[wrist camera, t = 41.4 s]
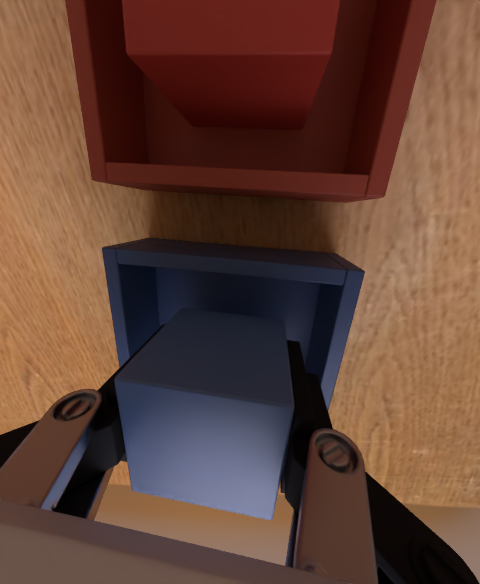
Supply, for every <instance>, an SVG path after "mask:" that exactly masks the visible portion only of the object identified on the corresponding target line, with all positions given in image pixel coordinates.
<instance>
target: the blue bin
mask: <svg viewBox="0 0 480 584" xmlns="http://www.w3.org/2000/svg"><path fill="white" fill-rule="evenodd" d="M102 252H103V259H104V265H105V272H106V279H107V286H108V292H109V299H110V306H111V313H112V320H113V326H114V333H115V340H116V347H117V353H118V360H119V367H121V366H122V365H123V364H124V363H125V362H126V361H127V360H128V359H129V358H130V357H131V356H132V355H133V354H134V353H135V352H136V351H137V350H138V349H139V348H140V347H141V346H142V345H143V344H144V343H145V342H146V341H147V340H148V339H149V338H150V337H151V336H152V335H153V334H154V333H155V332H156V331H157V330H158V329H159V328H160V327H161V326H162V325H163V324H167V322H168V321H169V320H170V319H171V318H172V317H173V316H174V315H175V314H176V313H177V312H178V311H179V310H180V309H181V308H187V309H196V310H204V311H213V312H221V313H230V314H238V315H247V316H255V317H264V318H272V319H281V320H284V321H285V329H286V337H287V340H292V341H299V342H300V346H301V351H302V355H303V360H304V365H305V370H306V373H312V374H317V375H318V378H319V382H320V385H321V389H322V392H323V396H324V399H325V403H326V407H327V410H329V406H330V402H331V398H332V395H333V391H334V387H335V383H336V379H337V376H338V372H339V368H340V364H341V361H342V357H343V353H344V349H345V345H346V342H347V338H348V334H349V330H350V326H351V323H352V319H353V315H354V311H355V308H356V304H357V300H358V296H359V292H360V289H361V285H362V281H363V277H364V273H365V271H364V270H362V269H360V268H359V267H357V266H356V265H354V264H352V263H351V262H349V261H347V260H346V259H344V258H343V257H341V256H339V255H338V254H335V253H324V252H312V251H300V250H288V249H276V248H264V247H252V246H240V245H228V244H216V243H204V242H192V241H180V240H168V239H156V238H145V239H141V240H136V241H131V242H126V243H121V244H116V245H112V246H107V247H103V248H102Z"/></svg>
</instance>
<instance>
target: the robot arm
mask: <svg viewBox="0 0 480 584" xmlns="http://www.w3.org/2000/svg"><path fill="white" fill-rule="evenodd" d="M165 325H166V324H163V325H162V326H161V327H160V328H159V329H158V330H157V331H156V332H155V333H154V334H153V335H152V336H151V337H150V338H149V339H148V340H147V341H146V342H145V343H144V344H143V345H142V346H141V347H140V348H139V349H138V350H137V351H136V352H135V353H134V354H133V355H132V356H131V357H130V358H129V359H128V360H127V361H126V362H125V363H124V364H123V365H122V366H121V367H120V368H119V369H118V370H117V371H116V372H115V373H114V374H113V375H112V376H111V377H110V378H109V379H108V380H107V381H106V382H105V383H104V384H103V386H102V387H101V388H100V389H99V390H98V391H97V390H94V389H81V390H77V391H74V392H71V393H69V394H67V395H65V396H63V397H62V398H60V399H59V400H57V401H56V402H55V403H54V404H53V405H52V406H51V407H50V408H49V410H48V411H47V412H46V413H45V414H44V416H43V417H42V418H41V419H40V420H39V421H36V422H34V423H31V424H28V425H26V426H23V427H20V428H18V429H15V430H12V431H10V432H7V433H4V434H2V435H0V584H479V582H478V580H477V579H476V577H475V575H474V574H473V572H472V571H471V570H470V568H469V567H468V566H467V564H466V563H465V562H464V561H463V559H462V558H461V557H460V556H459V555H458V554H457V553H456V552H455V551H454V550H453V549H452V548H451V547H450V546H449V545H447V543H445V542H444V541H443V540H442V539H441V538H440V537H439V536H438V535H436V534H435V533H434V532H433V531H432V530H431V529H430V528H428V527H427V526H426V525H425V524H424V523H423V522H422V521H421V520H419V519H418V518H417V517H416V516H415V515H414V514H413V513H412V512H410V511H409V510H408V509H407V508H406V507H405V506H404V505H403V504H401V503H400V502H399V501H398V500H397V499H396V498H395V497H394V496H392V495H391V494H390V493H389V492H388V491H387V490H386V489H385V488H383V487H382V486H381V485H380V484H379V483H378V482H377V481H376V480H374V479H373V478H372V477H371V476H370V475H369V474H368V473H367V472H365V465H364V460H363V457H362V454H361V452H360V450H359V448H358V447H357V445H356V444H355V443H354V442H353V441H352V440H351V439H350V438H349V437H347V436H346V435H345V434H343V433H341V432H339V431H337V430H334V429H333V428H332V424H331V421H330V417H329V414H328V410H327V407H326V403H325V399H324V396H323V392H322V389H321V385H320V382H319V378H318V375H317V374H312V373H306V370H305V365H304V360H303V355H302V351H301V346H300V342H299V341H292V340H287V346H288V355H289V363H290V372H291V380H292V389H293V398H294V406H295V407H294V412H293V417H292V423H291V428H290V433H289V438H288V443H287V448H286V454H285V459H284V464H283V469H282V474H281V479H280V484H281V493H285V498H286V499H287V501H288V502H289V503H290V505H291V506H292V507H293V515H292V522H291V529H290V536H289V543H288V550H287V557H286V563H285V566H283V565H278V564H275V563H270V562H266V561H262V560H258V559H254V558H250V557H245V556H241V555H237V554H233V553H229V552H225V551H221V550H216V549H212V548H208V547H204V546H200V545H196V544H191V543H187V542H182V541H178V540H174V539H170V538H166V537H161V536H157V535H153V534H149V533H144V532H140V531H136V530H132V529H127V528H123V527H118V526H114V525H110V524H106V523H101V522H97V521H94V518H95V516H96V513H97V510H98V508H99V505H100V503H101V500H102V498H103V495H104V492H105V490H106V487H107V485H108V482H109V479H110V477H111V474H112V471H113V468H114V466H115V465H117V464H118V463H119V462H120V461H125V462H127V456H126V450H125V444H124V438H123V432H122V425H121V419H120V413H119V407H118V400H117V394H116V388H115V382H114V379H115V377H116V376H117V375H118V374H119V373H120V372H121V370H122V369H123V368H124V367H125V366H126V365H127V364H128V363H129V362H130V361H131V360H132V359H133V358H134V357H135V356H136V355H137V354H138V353H139V352H140V351H141V350H142V349H143V348H144V346H145V345H146V344H147V343H148V342H149V341H150V340H151V339H152V338H153V337H154V336H155V335H156V334H157V333H158V332H159V331H160V330H161V329H162V328H163V327H164V326H165Z"/></svg>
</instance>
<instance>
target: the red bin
mask: <svg viewBox="0 0 480 584" xmlns="http://www.w3.org/2000/svg"><path fill="white" fill-rule="evenodd" d="M65 1H66V8H67V15H68V22H69V29H70V35H71V42H72V49H73V56H74V62H75V69H76V76H77V83H78V89H79V96H80V103H81V110H82V117H83V123H84V130H85V137H86V144H87V150H88V157H89V164H90V171H91V177H92V180H94V181H98V182H103V183H109V184H114V185H120V186H125V187H131V188H136V189H142V190H151V191H168V192H184V193H200V194H217V195H233V196H249V197H266V198H282V199H298V200H314V201H331V202H354V201H361V200H368V199H376V198H382V197H384V196H385V193H386V190H387V186H388V182H389V178H390V174H391V171H392V167H393V163H394V159H395V155H396V152H397V148H398V144H399V140H400V137H401V133H402V129H403V125H404V121H405V118H406V114H407V110H408V106H409V102H410V99H411V95H412V91H413V87H414V84H415V80H416V76H417V72H418V68H419V65H420V61H421V57H422V53H423V49H424V46H425V42H426V38H427V34H428V30H429V27H430V23H431V19H432V15H433V12H434V8H435V4H436V0H340V4H339V11H338V17H337V23H336V30H335V36H334V42H333V49H332V53H331V56H330V58H329V61H328V64H327V66H326V69H325V72H324V74H323V77H322V79H321V82H320V85H319V87H318V90H317V93H316V95H315V98H314V100H313V103H312V106H311V108H310V111H309V113H308V116H307V119H306V121H305V124H304V127H303V129H302V130H295V129H263V128H230V127H198V126H191V124H190V123H189V122H188V121H187V120H186V119H185V118H184V117H183V116H182V115H181V113H180V112H179V111H178V110H177V109H176V108H175V107H174V106H173V105H172V103H171V102H170V101H169V100H168V99H167V98H166V97H165V96H164V95H163V93H162V92H161V91H160V90H159V89H158V88H157V87H156V86H155V85H154V84H153V82H152V81H151V80H150V79H149V78H148V77H147V76H146V75H145V74H144V72H143V71H142V70H141V69H140V68H139V67H138V66H137V65H136V64H135V63H134V61H133V60H132V59H131V58H130V57H129V56H128V55H127V52H126V41H125V30H124V18H123V6H122V0H65Z"/></svg>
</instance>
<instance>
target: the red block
mask: <svg viewBox="0 0 480 584" xmlns="http://www.w3.org/2000/svg"><path fill="white" fill-rule="evenodd" d="M339 4H340V0H122V6H123V18H124V30H125V41H126V52H127V55H128V56H129V57H130V58H131V59H132V60H133V61H134V63H135V64H136V65H137V66H138V67H139V68H140V69H141V70H142V71H143V72H144V74H145V75H146V76H147V77H148V78H149V79H150V80H151V81H152V82H153V84H154V85H155V86H156V87H157V88H158V89H159V90H160V91H161V92H162V93H163V95H164V96H165V97H166V98H167V99H168V100H169V101H170V102H171V103H172V105H173V106H174V107H175V108H176V109H177V110H178V111H179V112H180V113H181V115H182V116H183V117H184V118H185V119H186V120H187V121H188V122H189V123H190V124H191V126H198V127H230V128H263V129H295V130H302V129H303V127H304V124H305V121H306V119H307V116H308V113H309V111H310V108H311V106H312V103H313V100H314V98H315V95H316V93H317V90H318V87H319V85H320V82H321V79H322V77H323V74H324V72H325V69H326V66H327V64H328V61H329V58H330V56H331V53H332V49H333V42H334V36H335V30H336V23H337V17H338V11H339Z"/></svg>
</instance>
